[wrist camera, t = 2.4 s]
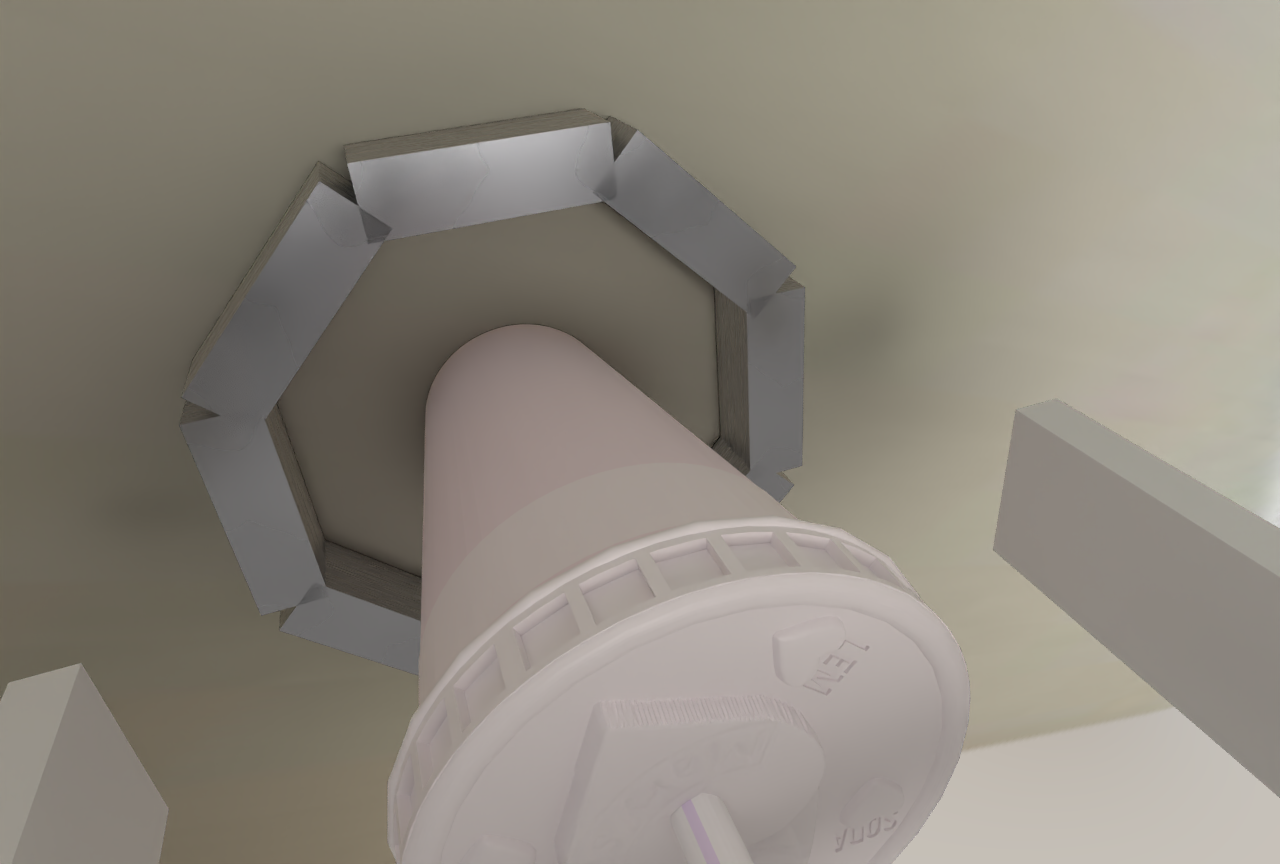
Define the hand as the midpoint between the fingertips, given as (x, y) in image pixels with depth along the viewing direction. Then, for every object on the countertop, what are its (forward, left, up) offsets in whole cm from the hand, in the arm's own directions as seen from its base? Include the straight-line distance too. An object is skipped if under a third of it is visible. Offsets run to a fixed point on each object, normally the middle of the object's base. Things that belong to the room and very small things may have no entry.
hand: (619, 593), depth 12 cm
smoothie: (0, 0, -6) cm, 6 cm away
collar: (0, 0, -6) cm, 6 cm away
